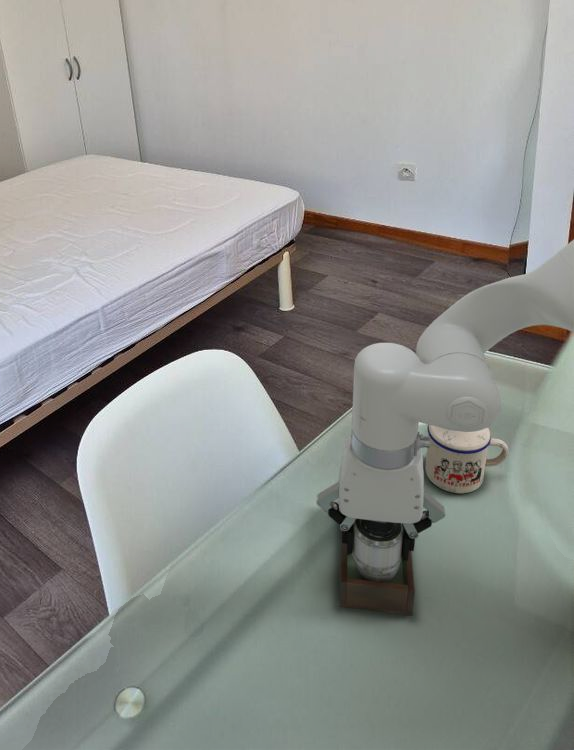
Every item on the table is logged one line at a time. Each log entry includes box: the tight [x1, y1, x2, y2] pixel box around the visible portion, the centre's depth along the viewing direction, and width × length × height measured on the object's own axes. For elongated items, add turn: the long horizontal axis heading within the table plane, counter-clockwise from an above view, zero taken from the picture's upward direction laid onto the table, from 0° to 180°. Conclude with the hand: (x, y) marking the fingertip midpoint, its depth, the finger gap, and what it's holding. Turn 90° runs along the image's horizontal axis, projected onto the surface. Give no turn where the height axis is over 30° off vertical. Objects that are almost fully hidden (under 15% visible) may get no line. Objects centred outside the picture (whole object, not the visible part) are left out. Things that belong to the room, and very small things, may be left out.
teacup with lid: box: [425, 424, 509, 494], centre depth 106 cm, size 12×9×12 cm
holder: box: [339, 535, 416, 616], centre depth 95 cm, size 9×17×4 cm, turn 168°
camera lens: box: [352, 519, 404, 582], centre depth 89 cm, size 6×6×8 cm
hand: (376, 547), depth 90 cm, fingers closed on camera lens, 6 cm apart
